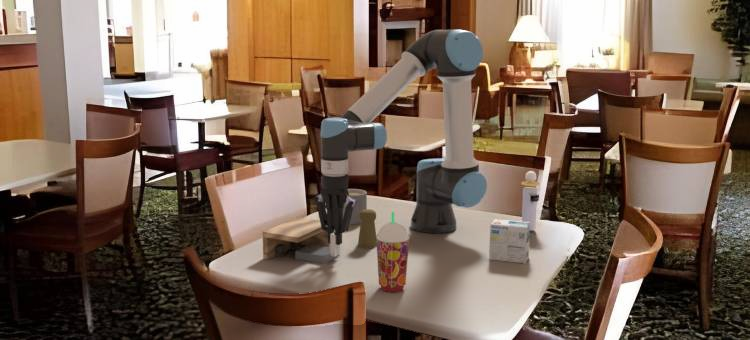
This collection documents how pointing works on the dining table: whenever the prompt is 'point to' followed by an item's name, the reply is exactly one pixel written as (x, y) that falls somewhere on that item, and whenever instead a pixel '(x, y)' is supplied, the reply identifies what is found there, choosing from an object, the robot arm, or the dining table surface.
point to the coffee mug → (357, 204)
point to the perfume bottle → (530, 199)
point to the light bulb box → (509, 241)
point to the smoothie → (392, 256)
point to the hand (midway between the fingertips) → (335, 254)
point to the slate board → (315, 253)
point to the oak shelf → (293, 236)
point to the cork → (367, 229)
